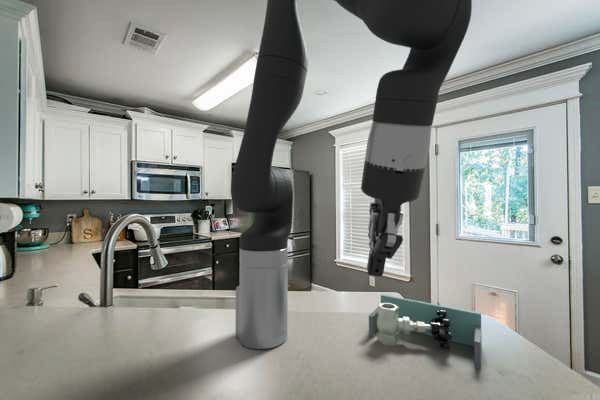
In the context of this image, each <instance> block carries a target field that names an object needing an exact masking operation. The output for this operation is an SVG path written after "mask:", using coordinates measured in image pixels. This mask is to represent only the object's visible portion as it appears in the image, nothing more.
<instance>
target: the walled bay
mask: <svg viewBox="0 0 600 400" xmlns="http://www.w3.org/2000/svg"><path fill="white" fill-rule="evenodd" d="M381 303H391V304H394V305H396V306H398V307H399V316H398V318H402V317H409V320H410V321H413V323H416V321H420V322H424V323H425V324H427V325H429V323H430V322H431V321H432V319H433V318H435V317H438V318H439V315H437V314H436V311H439V310H445V311H446V313H447V317H446V319H449V321H450V326H449V333H451V335H452V340H449V342H455V343H459V344H462V345H467V346H471V347H474V350H473V351H474V368H477V369H482V351H483V350H482V347H483V345H482V343H483V342H482V341H483V340H482V312H479V311H474V310H473V311H472V310H467V309H462V308H457V307H451V306H445V305H441V304H436V303H430V302H426V301H421V300H420V301H419V300H415V299H410V298H403V297H399V296H394V295H390V294H389V295H388V294H383V293H382V294H380V304H381ZM378 316H379V314H378V307H376V308H375V309H374V310H373V311H372V312H371V313H370V314H369V315H368V337H369V338H374V337H375V336H376V335H378V331H379V330H378V327H377V318H378ZM412 332H416V333H419V334H422V335H427V336H431V337H433V334H431V333H430V331H428V330H425V332H417V331H416V330H413V331H412ZM436 336H437V334H436Z"/></svg>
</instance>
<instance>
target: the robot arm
mask: <svg viewBox="0 0 600 400" xmlns="http://www.w3.org/2000/svg"><path fill="white" fill-rule="evenodd" d="M333 1H335V2H336V3H337V4H338V5H339V6H341V8H343V9H344V10H346V11H347V12H348V13H350V14H352V15H353V16H355V17H357V18H358V19H360V20H361V21H362V22H363V23H364V24H365V26H366V27H367V29H368V30H369V31H370V32H371V33H372V34H373V35H374V36H375V37H377V38H379V39H380V40H383V41H384V42H386V43H388V44H392V45H396V46H399V47H400V46H402V47H405V48H408V49H409V48H410V49H409V52H408V53H409V54H408V56H407V58H406V61H405V62H404V65H403V66H402V68H401V69H395V70H390V71H388V72H386V73H384V74H383V75H382V76H381V77H380V79H379V81H378V85H377V89H376V93H375V101H374V108H373V116H372V121H371V125H370V126H371V127H370V130H369V134H368V137H367V142H366V149H365V157H364V163H363V170H362V171H363V172H362V177H361V178H362V179H361V185H360V189H361V192H363V194H364V195H366V196H367V197H370V198H372V199H373V200H374V201H371V202H370V203H369V209H368V213H369V218H368V219H369V221H368V226H367V227H368V234H367V236H368V239H369V242H368V247H369V252H368V259H367V265H366V269H367V274H368V275H369V276H372V277H382V276H383V275H384V272H385V270H384V269H385V265H386V261H387V259H390V260H391V259H392V258H393V257H394V256H395V254H396V252H397V251H398V249H399V248H400V247H401V245H402V244H403V242H404V238H403V235H402V234H399V233H398V231H399V229H400V226H401V225H402V223H403V219H404V213H403V211H402V205H403V204H405V203H412V202H415V201H416V200H417V199H419V197H420V194H421V193H420V192H421V188H422V184H423V180H424V174H425V171H426V165H427V160H428V156H429V151H430V146H431V135H432V126H433V123H434V118H435V113H436V109H437V103H438V100H439V99H438V98H439V92H440V89H441V87H442V85H443V83H444V81H445V80H446V77H447V76H448V74H449V72H450V69H451V68H452V65H453V63H454V61H455V59H456V57H457V54H458V52H459V50H460V47H461V46H462V43H463V41H464V39H465V37H466V34H467V31H468V28H469V26H470V22H471V17H472V11H473V7H472V6H473V2H472V1H473V0H333ZM297 4H298V3H297V0H267V3H266V10H265V17H264V24H263V30H262V33H261V34H262V35H261V40H260V45H259V51H258V54H257V59H256V65H255V71H254V76H253V77H254V78H253V83H252V89H251V97H250V104H249V108H248V111H247V112H248V113H247V118H246V123H245V127H244V132H243V135H242V140H241V143H240V147H239V151H238V154H237V156H236V157H237V158H236V161H235V164H234V168H233V171H232V177H231V184H230V195H231V200H232V203H233V204H234V206H235V207H236V209H238V210H239V211H241V212H243V213H251V214H253V213H254V219H253V222H252V223H251V225H250V226H249V227H248V228H246V229H245V230H243V232H242V233H240V236H239V285H237V286H236V287H235V334H234V335H235V337H236V338H238V341H239V342H240V344H241V345H242V346H244V347H246V348H248V349H252V350H268V349H272V348H275V347H276V348H277V347H278V346H281V345H282V344H284V343H285V342H286V341H287V339H288V311H289V310H288V302H289V301H288V281H289V279H288V267H289V266H288V253H289V252H288V245H289V244H288V242H289V236H290V235H291V232H292V229H293V228H292V227H293V226H292V225H293V210H294V209H293V207H294V189H293V182H292V178H291V176H290V175H289V173H288V172H287V171H286V170H285V169H284V168H281V167H278V166H273V164H272V163H273V157H274V153H275V149H276V144H277V141H278V138H279V136H280V134H281V132H282V130H283V129H284V128H285V126H286V124H287V123H288V121H289V120H290V119H291V117H292V116H293V115H294V113H295V112H296V111H297V108H298V107H299V105H300V104H301V101H302V97H303V95H304V94H303V93H304V89H305V83H306V79H307V74H308V67H309V57H308V50H307V48H308V47H307V45H306V39H305V37H304V32H303V28H302V24H301V21H300V17H299V12H298V11H299V10H298V5H297Z"/></svg>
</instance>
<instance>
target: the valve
mask: <svg viewBox="0 0 600 400" xmlns="http://www.w3.org/2000/svg"><path fill="white" fill-rule="evenodd" d="M377 308H378V314H379V316H378V318H377V327H378V330H379V331H378V332H377V340H378V342H379V343H381V344H382V345H384V346H392V347H395V346H397V345H398V344H399V343H400V333H403V334H404V335H411V332H414V331H413V330H416V331H417V332H416V333H418V332H425V330H428V331H430V333H431V334H433V336H432V337H433V339H434V340H435V341H437V342H439V347H440V348H442V349H444V350H451V343H450V340H452V335H451V333H449V326H450V321H449V319H446V317H447V313H446V311H445V310H439V311H436V314H437V315H439V318H438V317H435V318H433V319H432V321H431V322H430V323H429V325H427V324H425V323H424V322H420V321H416V323H413V321H410V320H409V317H402V318H398V316H399V307H398V306H396V305H394V304H391V303H381V302H380V303H379V304H378V305H377ZM436 334H437V336H436Z"/></svg>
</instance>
